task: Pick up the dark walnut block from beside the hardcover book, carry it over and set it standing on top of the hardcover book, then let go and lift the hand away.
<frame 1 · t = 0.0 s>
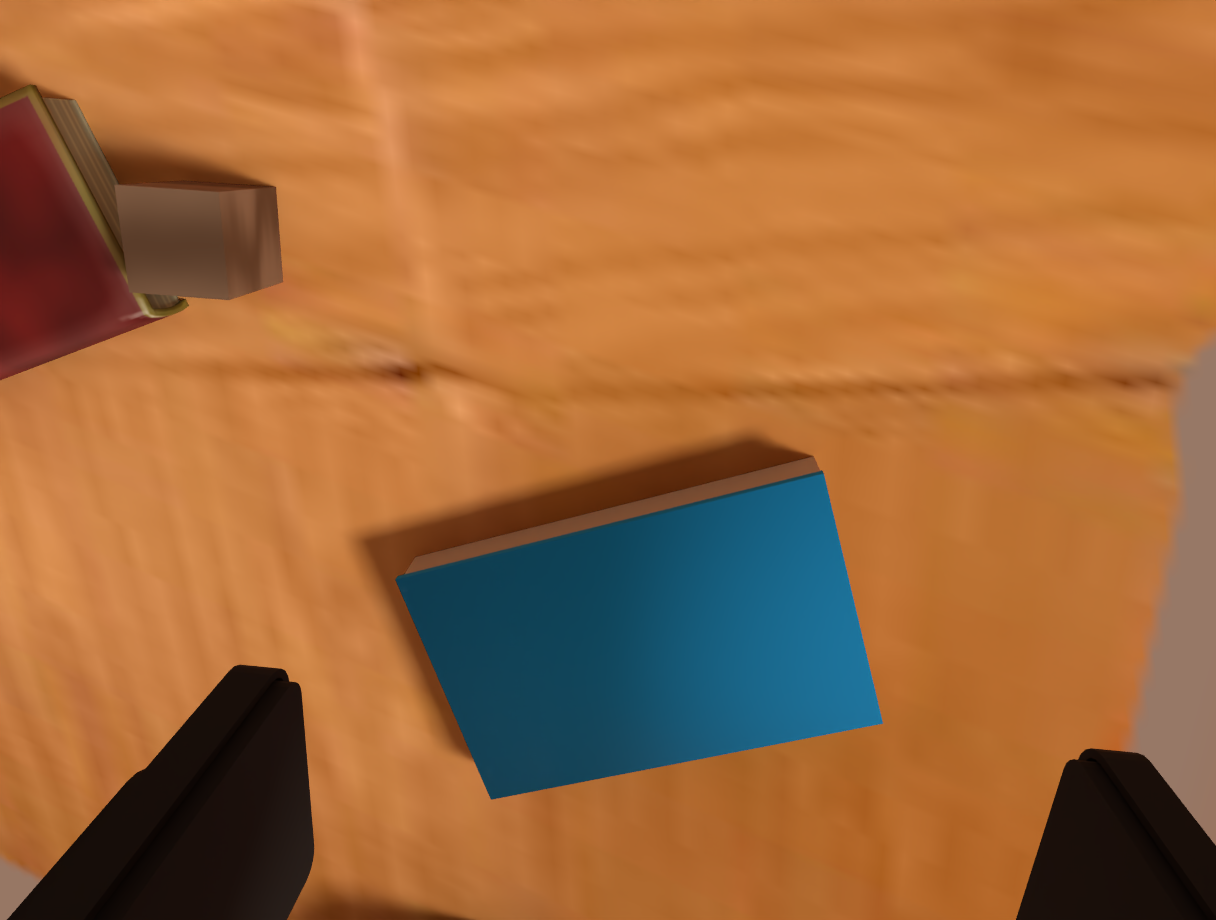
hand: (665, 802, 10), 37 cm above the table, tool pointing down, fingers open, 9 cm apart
walnut block: (235, 232, 45), on the table
book: (644, 618, 52), on the table
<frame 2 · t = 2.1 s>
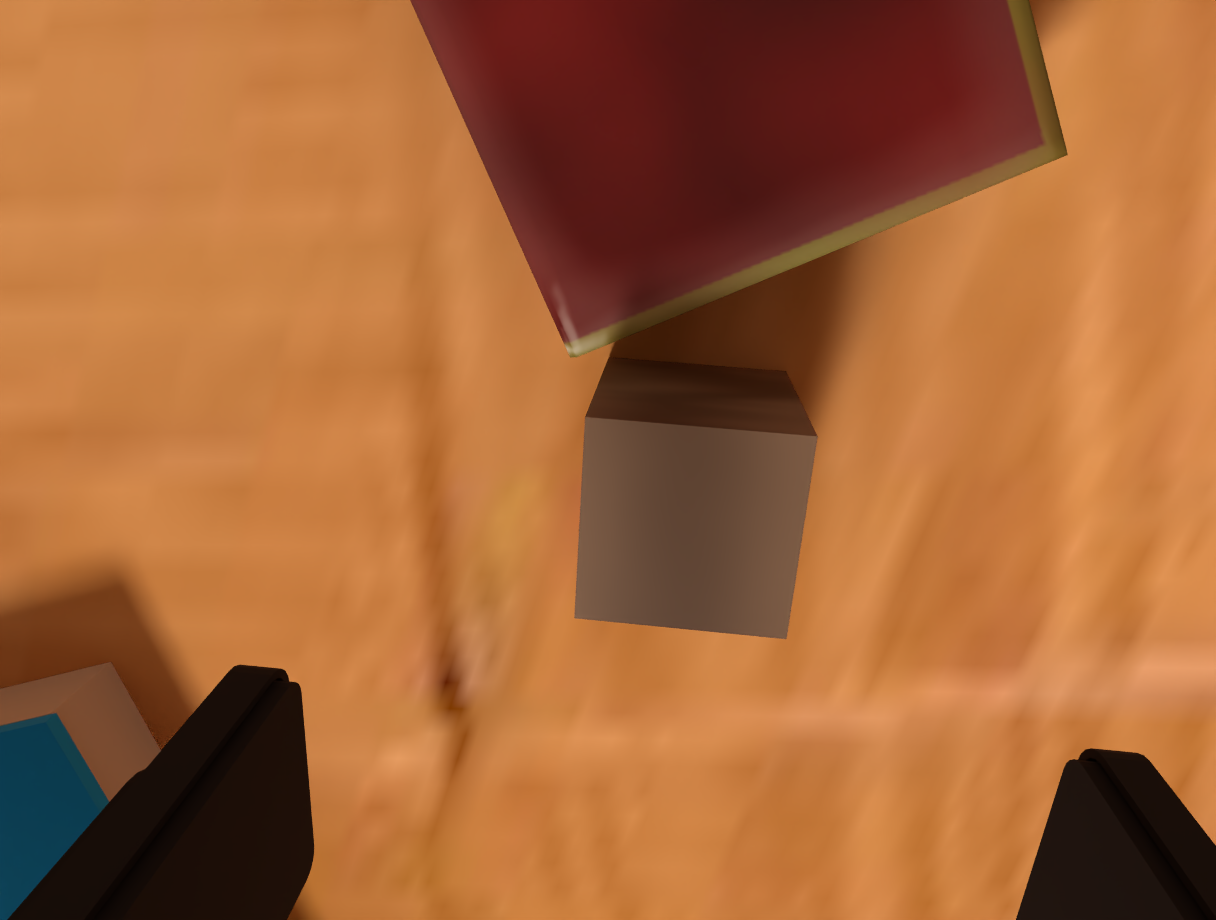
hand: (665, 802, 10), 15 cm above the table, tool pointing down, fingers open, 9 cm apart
walnut block: (688, 447, 24), on the table
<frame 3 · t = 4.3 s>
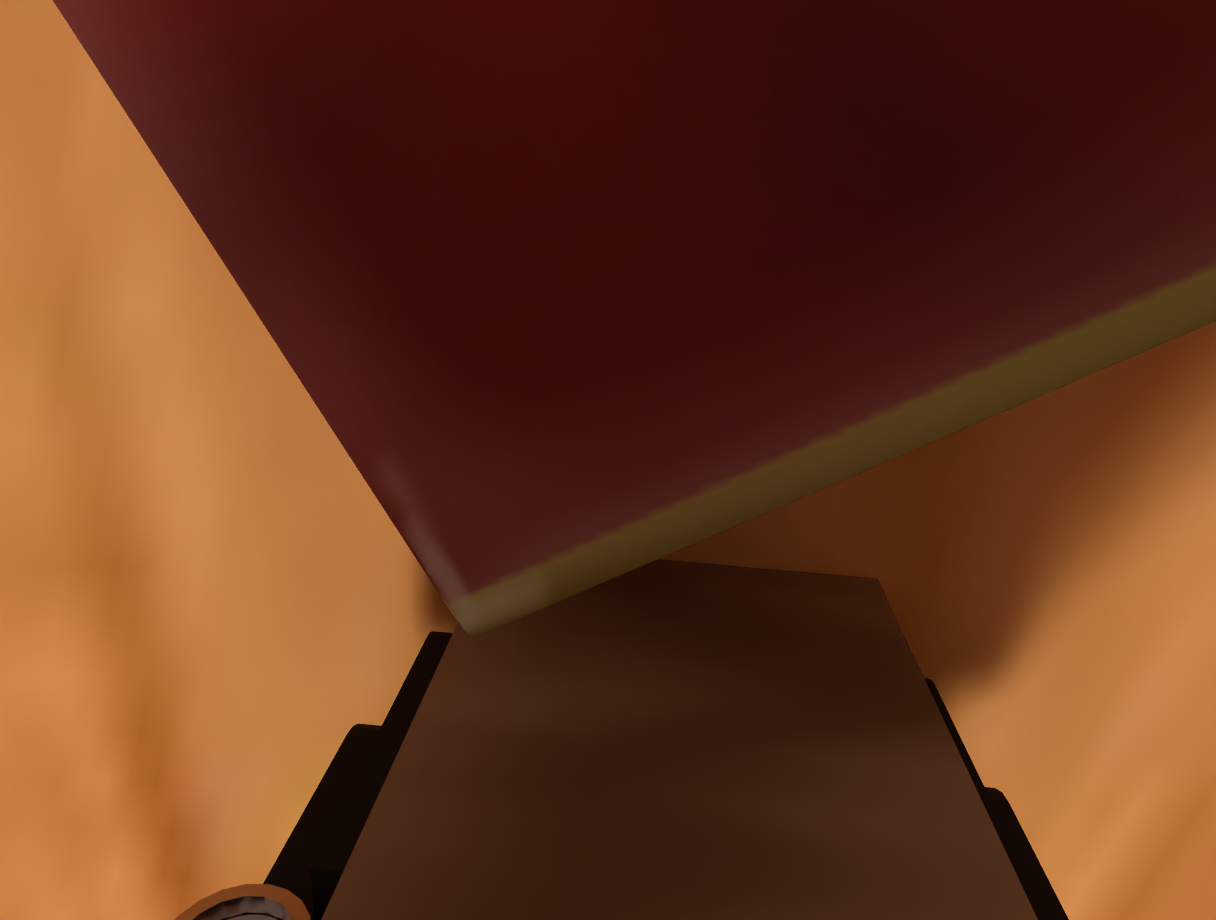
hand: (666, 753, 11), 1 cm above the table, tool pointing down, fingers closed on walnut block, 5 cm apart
walnut block: (667, 720, 12), on the table, touching gripper
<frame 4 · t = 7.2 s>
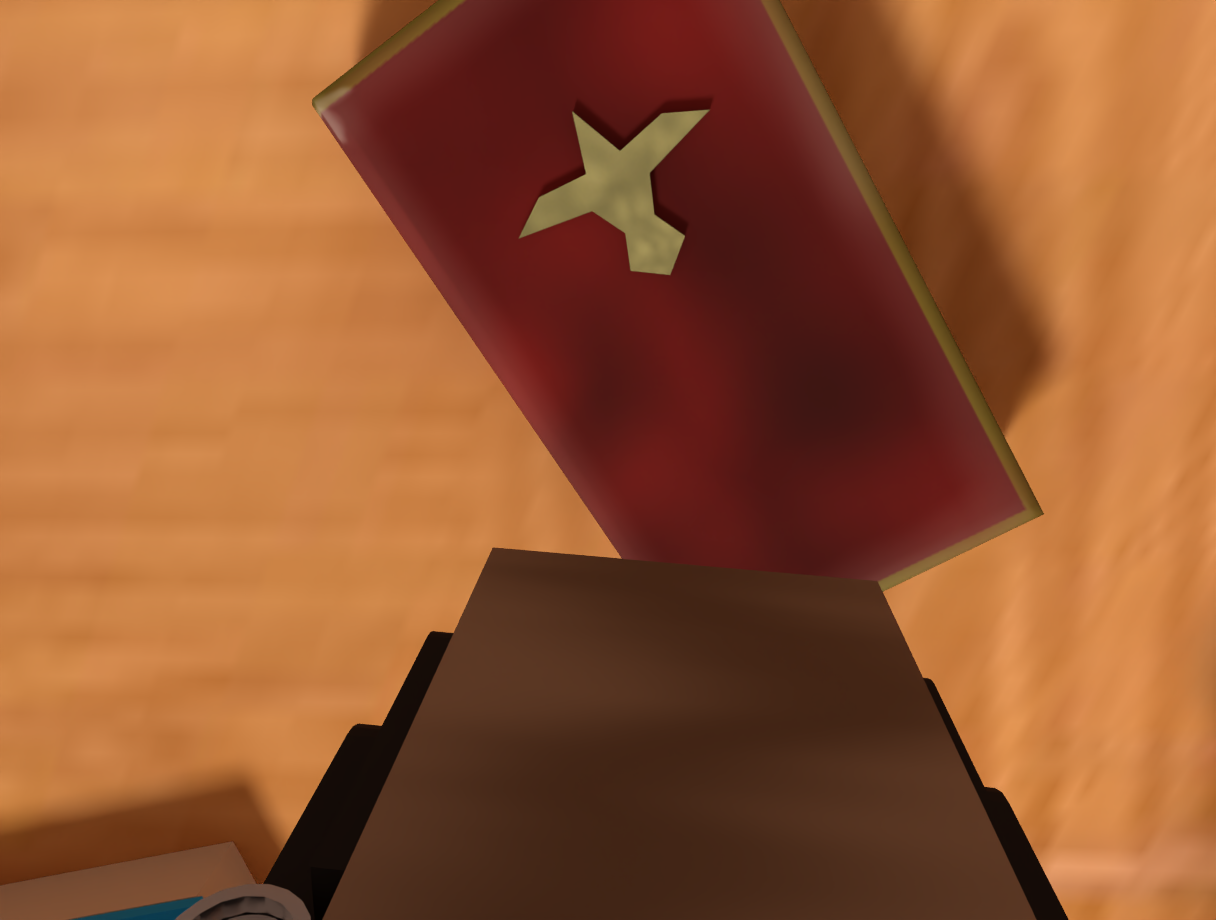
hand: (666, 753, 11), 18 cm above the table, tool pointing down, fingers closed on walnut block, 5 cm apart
hardcover book: (688, 297, 28), on the table
walnut block: (666, 722, 12), point 17 cm above the table, touching gripper
when the fingers open (5 cm above the table, at t = 10.5 s): walnut block drops 1 cm, resting on hardcover book.
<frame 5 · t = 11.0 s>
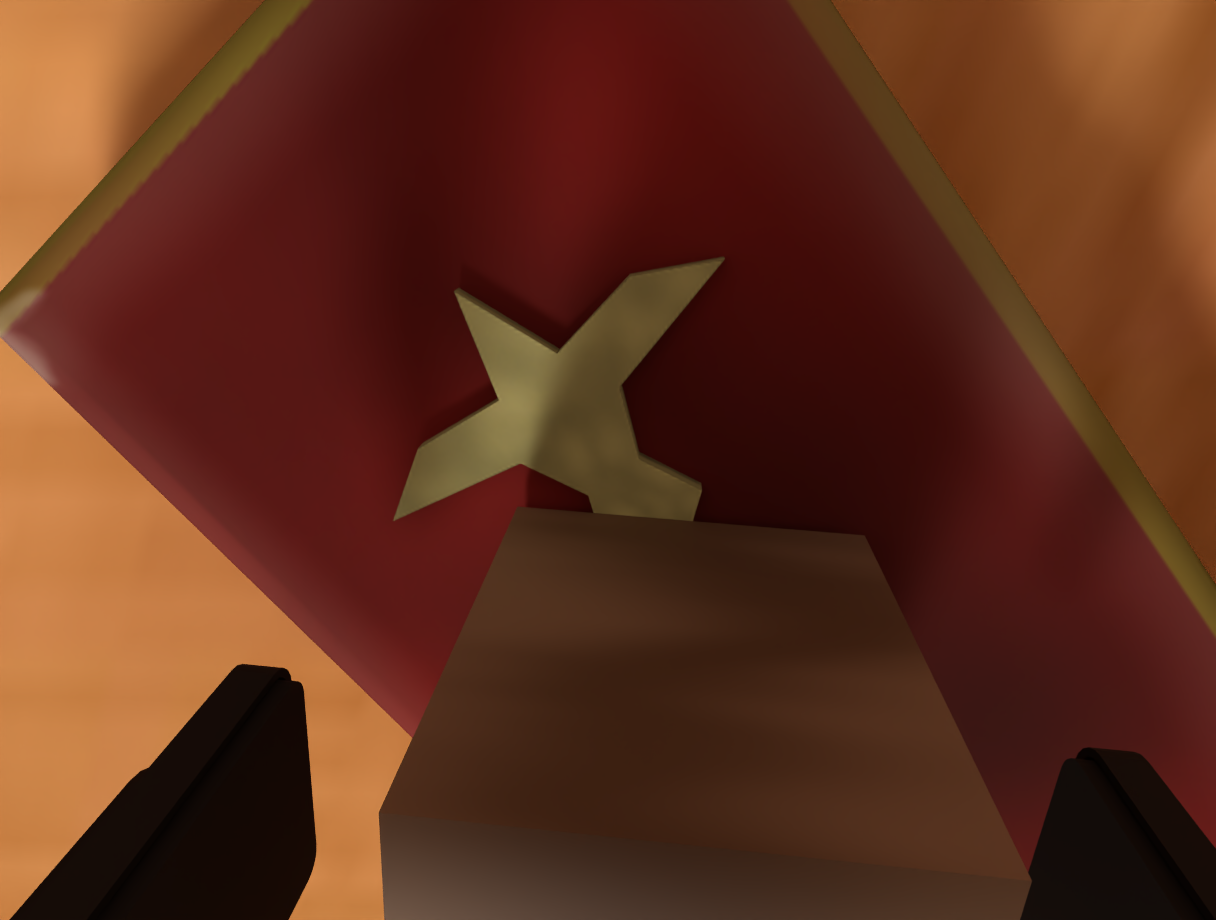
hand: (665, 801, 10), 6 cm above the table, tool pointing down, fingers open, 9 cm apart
hardcover book: (714, 513, 17), on the table, touching walnut block
walnut block: (674, 667, 13), point 3 cm above the table, touching hardcover book
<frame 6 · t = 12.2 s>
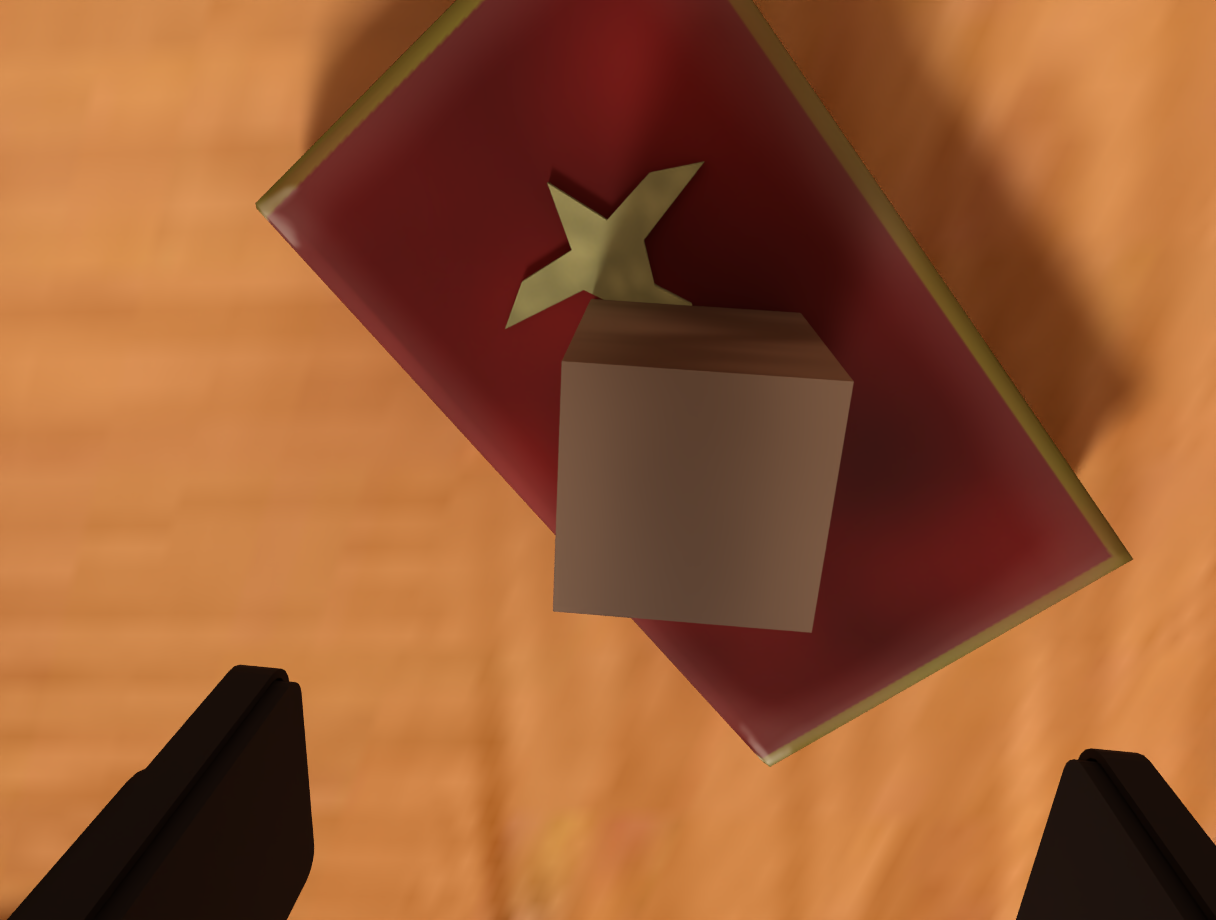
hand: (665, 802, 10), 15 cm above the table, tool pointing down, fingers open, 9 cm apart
hardcover book: (701, 354, 25), on the table
walnut block: (686, 405, 21), point 4 cm above the table
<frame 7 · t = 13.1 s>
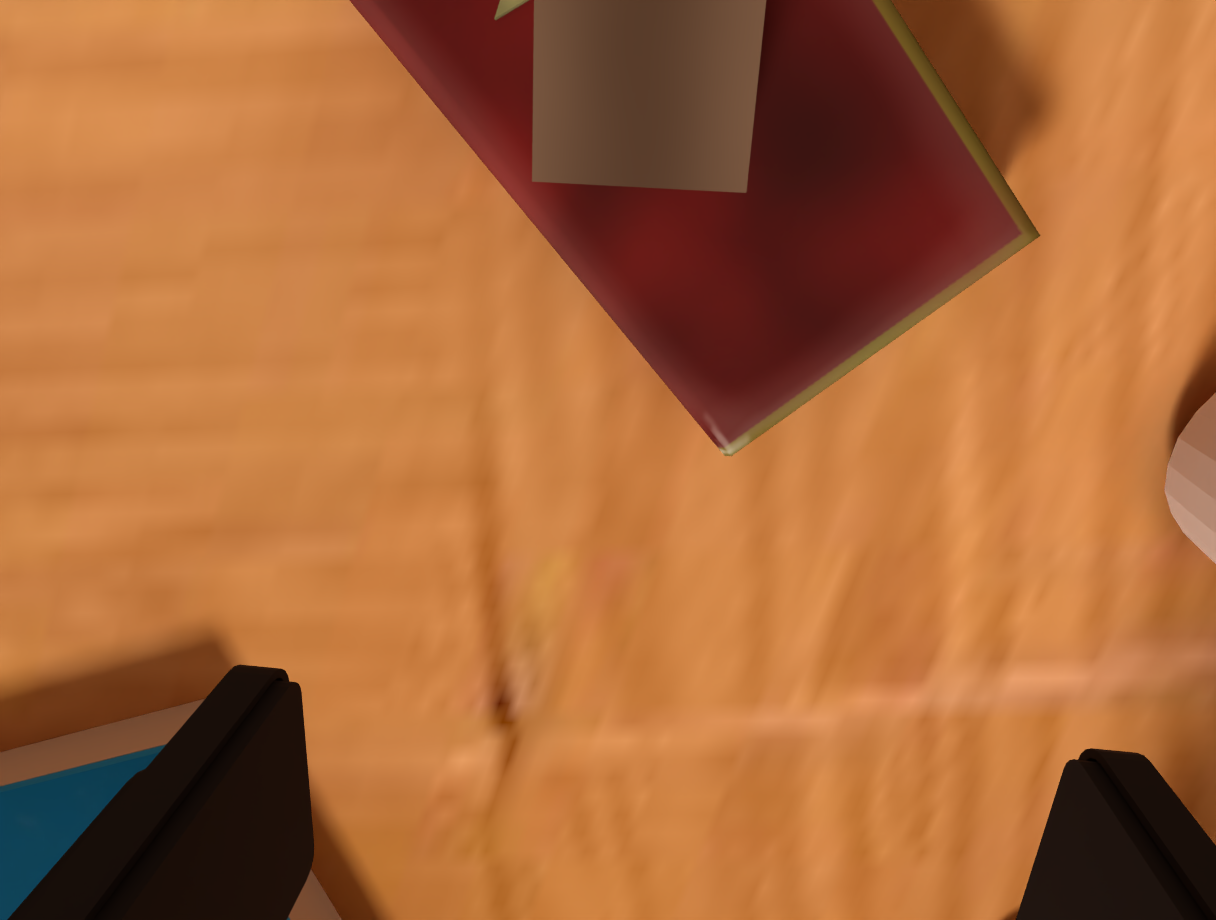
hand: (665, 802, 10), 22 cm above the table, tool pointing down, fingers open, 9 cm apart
hardcover book: (668, 88, 28), on the table, touching walnut block
walnut block: (650, 81, 24), point 4 cm above the table, touching hardcover book
book: (193, 909, 44), on the table
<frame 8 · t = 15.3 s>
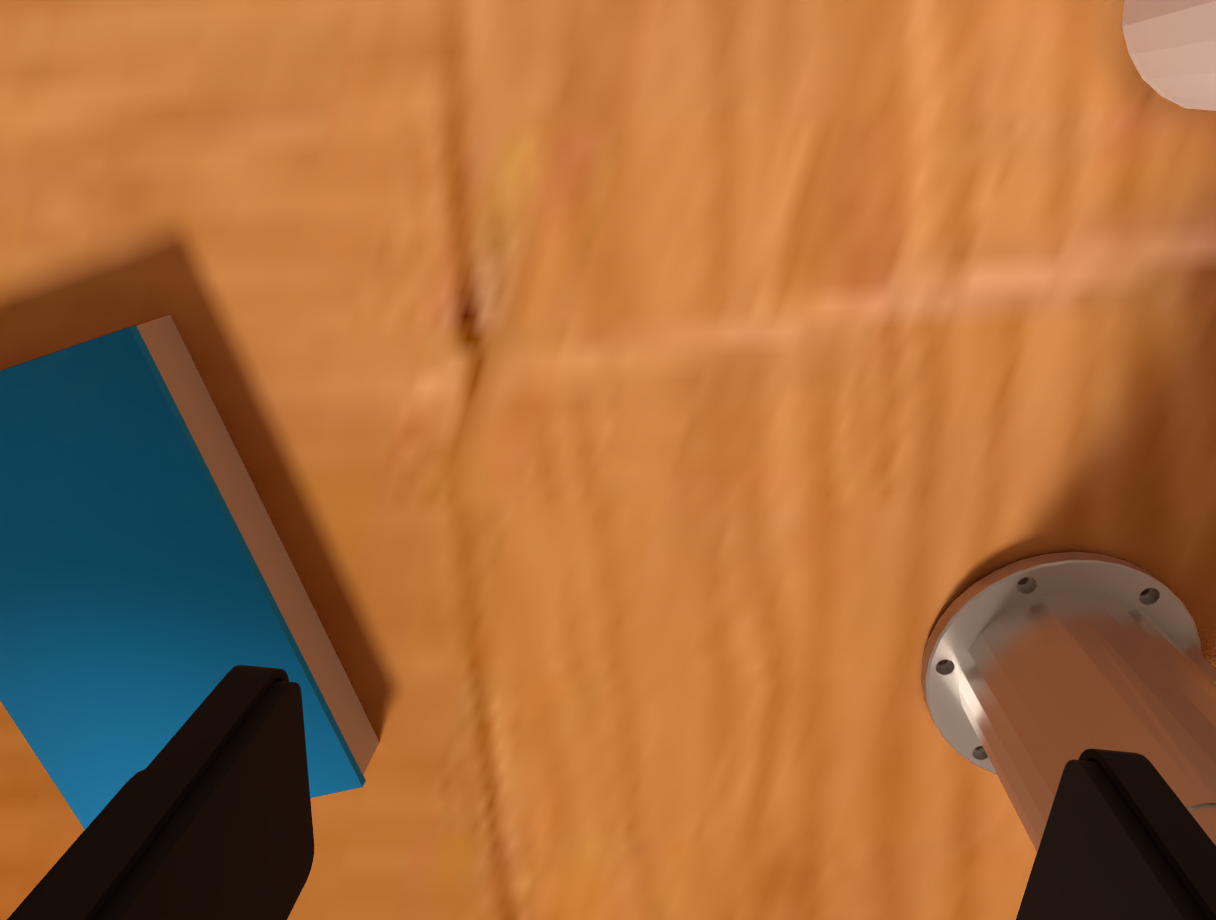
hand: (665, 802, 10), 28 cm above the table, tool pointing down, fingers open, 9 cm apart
book: (155, 579, 44), on the table
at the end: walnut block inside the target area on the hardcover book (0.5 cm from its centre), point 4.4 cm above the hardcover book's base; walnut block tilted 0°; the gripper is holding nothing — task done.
